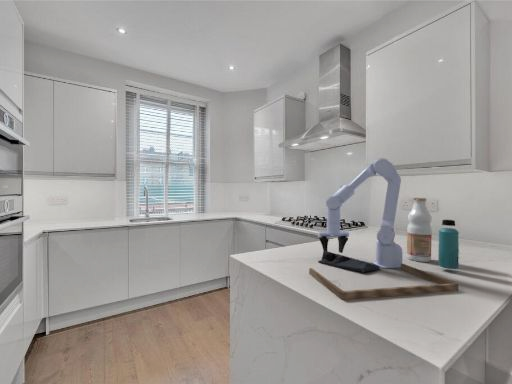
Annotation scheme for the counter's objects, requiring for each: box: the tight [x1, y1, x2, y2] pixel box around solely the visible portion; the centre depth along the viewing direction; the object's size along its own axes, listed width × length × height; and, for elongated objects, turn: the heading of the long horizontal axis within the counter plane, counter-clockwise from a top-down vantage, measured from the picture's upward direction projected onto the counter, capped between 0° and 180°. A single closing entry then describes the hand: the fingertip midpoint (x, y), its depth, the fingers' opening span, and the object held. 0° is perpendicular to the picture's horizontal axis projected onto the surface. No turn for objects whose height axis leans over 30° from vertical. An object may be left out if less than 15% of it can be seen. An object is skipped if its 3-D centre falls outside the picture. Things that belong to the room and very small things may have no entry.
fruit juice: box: [406, 197, 432, 263], centre depth 116 cm, size 9×9×28 cm
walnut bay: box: [308, 263, 459, 301], centre depth 87 cm, size 40×22×2 cm, turn 102°
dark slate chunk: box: [318, 250, 381, 273], centre depth 106 cm, size 15×22×5 cm
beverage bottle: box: [437, 219, 460, 270], centre depth 100 cm, size 6×7×20 cm
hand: (333, 252), depth 117 cm, fingers open, 7 cm apart
